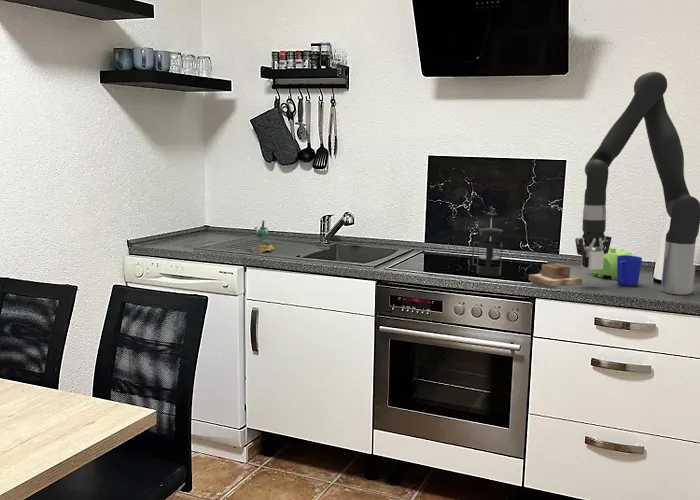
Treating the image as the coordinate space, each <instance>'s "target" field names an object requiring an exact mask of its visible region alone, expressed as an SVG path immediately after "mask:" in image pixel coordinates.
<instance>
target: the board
mask: <svg viewBox="0 0 700 500" xmlns="http://www.w3.org/2000/svg"><path fill="white" fill-rule="evenodd" d="M528 281H530V282H533V283H536V284H540V285H542V286H546V287H548V288H549V287H563V286H565V287H566V286H578V285H583V278H581V277H577V276H574V275H571V274H570V278H562V279H551V278H548V277H545V276H542V275H541V273H535V274H533V273H532V274H528Z"/></svg>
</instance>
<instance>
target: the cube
mask: <svg viewBox="0 0 700 500" xmlns="http://www.w3.org/2000/svg"><path fill="white" fill-rule="evenodd" d="M592 249H593V248H592ZM585 253H586V252H585ZM603 256H604V251H599V250H595V249H593V250H592V251H590V252H589V256H588V257H589V267H588V268H585V267H583V265H582V264H581V266H580V267H581V268H583V269H587V270H591V271H592V270H593V269H603Z"/></svg>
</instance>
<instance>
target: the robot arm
mask: <svg viewBox="0 0 700 500" xmlns="http://www.w3.org/2000/svg"><path fill="white" fill-rule="evenodd" d="M667 89H668V79H667V77H666V76H665V75H664V74H663V73H662V72H659V71H649V72H646V73H643V74H641V75H640V76H638V78H637V79H636V80H635V82H634V85H633V93H634V95H633V96H632V99H631V101H630V102H629V104H628V106H627V107H626V108H625V110H624V111H623V112H622V113H621V115H620V116H619V117H618V119H617V120H616V121H615V123H614V124H613V125H612V126H611V128H610V129H609V130H608V131H607V134H606V135H605V136H604V138H603V139H602V141H601V143H600V145H599V147H598V148H597V149H596V151H594V153H593V154H592V156H591V157H590V158H589V160H588V161H587V162H586V164H585V166H584V173H585V176H586V189H585V192H584V198H583V200H584V204H583V211H582V228H581V229H582V232H583V233H582V234H583V235H582V237H579V238H578V237H576V238H575V239H574V241H575V247H576V253H577V255H580V256H581V266H582V265H583V267H585V268H584V269H586V268H588V267H589V257H588V256H589V252H590V251H592V249H593V248H594V250H599V251H604V254H607V253H608V251H609V248H611V247H610V246H611V243H612V237H611V236H609V235H605V232H606V226H607V225H606V224H607V205H606V204H607V186H608V180H609V167H610V166H611V165H612V163H613V161H614V160H615V159H616V158H617V157H618V156H619V155H620V154H621V152H622V151H623V149H624V148H625V146H626V145H627V143H628V141H629V140H630V139H631V138H632V135H634V132H635V131H636V129H637V127H638V126H639V124H640V123H641V122H642V120H643V118H644V124H645V129H646V134H647V138H648V142H649V148H650V151H651V154H652V158H653V161H654V163H655V166H656V171H657V174H658V177H659V179H660V182H661V186H662V190H663V191H662V192H663V199H664V205H665V210H666V214H667V215H668V216H669V218H670V219H669V228H668V230H667V232H666V233H665V241H664V253H663V254H664V255H663V264H662V274H661V285H660V291H661V292H663V293H666V294H671V295H672V294H673V295H691V294H692V293H693V292H694V282H695V274H696V265H695V264H694V262H695V261H694V260H695V250H696V243H697V242H696V241H697V237H698V235H699V231H700V201H699V200H698V199H697V198H696V197H694V196H692V195H691V194H690V192H689V189H688V186H687V182H686V180H685V173H684V172H685V158H684V150H683V146H682V142H681V139H680V135H679V133H678V131H677V128H676V127H675V125H674V123H673V121H672V119H671V117H670V115H669V113H668V111H667V108H666V102H665V97H664V94H665V93H666V91H667ZM585 252H586V253H585Z"/></svg>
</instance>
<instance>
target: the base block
mask: <svg viewBox="0 0 700 500" xmlns="http://www.w3.org/2000/svg"><path fill="white" fill-rule="evenodd" d="M540 274H541V275H542V276H545V277H548V278H551V279H562V278H570V275H571V266H568V265H564V264H561V263H548V264H547V263H546V264H544V263H543V264H541V272H540Z"/></svg>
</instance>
